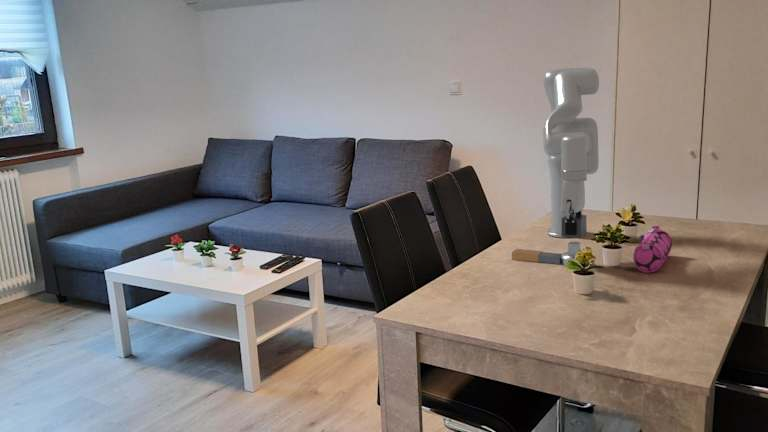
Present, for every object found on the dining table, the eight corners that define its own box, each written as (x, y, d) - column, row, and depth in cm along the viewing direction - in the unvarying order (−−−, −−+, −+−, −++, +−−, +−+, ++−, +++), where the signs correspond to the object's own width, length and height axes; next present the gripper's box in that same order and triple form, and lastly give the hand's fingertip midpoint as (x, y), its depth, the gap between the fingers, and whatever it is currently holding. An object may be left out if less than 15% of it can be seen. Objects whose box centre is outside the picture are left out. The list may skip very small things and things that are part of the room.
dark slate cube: (567, 232, 211) (567, 214, 209) (586, 233, 207) (586, 215, 206) (561, 236, 206) (561, 217, 204) (580, 238, 203) (580, 219, 201)
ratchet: (510, 261, 217) (509, 240, 215) (518, 254, 223) (518, 234, 221) (582, 268, 204) (582, 247, 203) (589, 262, 210) (589, 240, 209)
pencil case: (639, 253, 216) (640, 223, 214) (671, 255, 212) (672, 225, 209) (630, 273, 198) (630, 240, 196) (665, 275, 193) (666, 243, 191)
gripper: (570, 171, 212) (570, 225, 215) (552, 179, 198) (553, 237, 201) (593, 171, 208) (593, 227, 211) (577, 180, 194) (577, 239, 197)
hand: (574, 231), depth 206 cm, fingers closed on dark slate cube, 6 cm apart
